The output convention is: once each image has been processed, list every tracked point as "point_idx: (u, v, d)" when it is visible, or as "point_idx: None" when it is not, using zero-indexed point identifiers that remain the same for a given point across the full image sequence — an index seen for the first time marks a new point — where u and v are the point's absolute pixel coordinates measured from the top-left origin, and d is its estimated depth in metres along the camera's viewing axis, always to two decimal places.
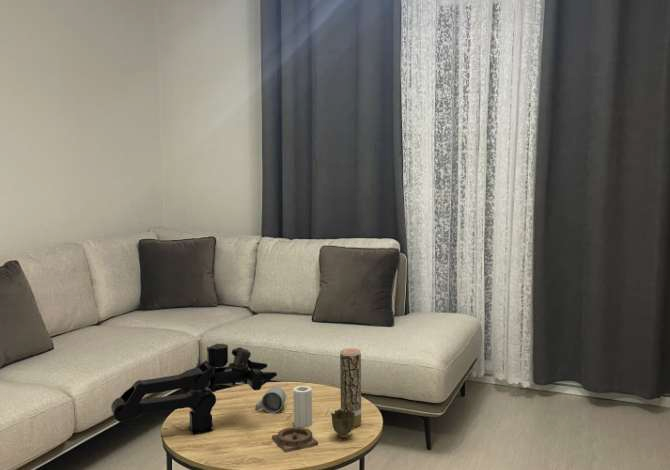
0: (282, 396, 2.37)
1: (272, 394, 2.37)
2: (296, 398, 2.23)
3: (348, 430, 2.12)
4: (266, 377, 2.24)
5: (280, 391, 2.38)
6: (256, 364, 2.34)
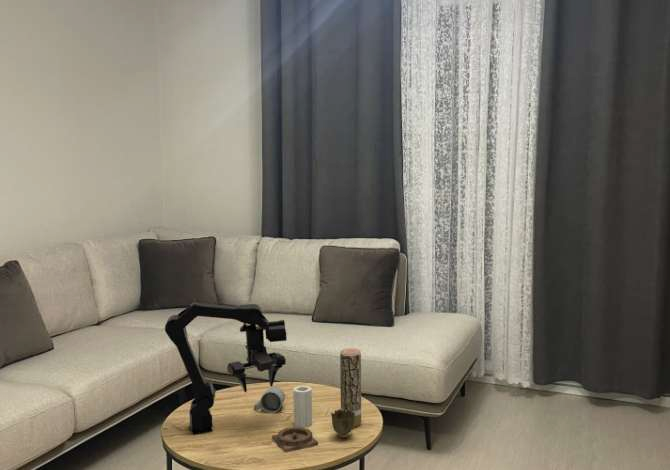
0: (281, 396, 2.37)
1: (271, 394, 2.37)
2: (296, 398, 2.23)
3: (348, 430, 2.12)
4: (240, 380, 2.20)
5: (279, 391, 2.39)
6: (271, 375, 2.25)
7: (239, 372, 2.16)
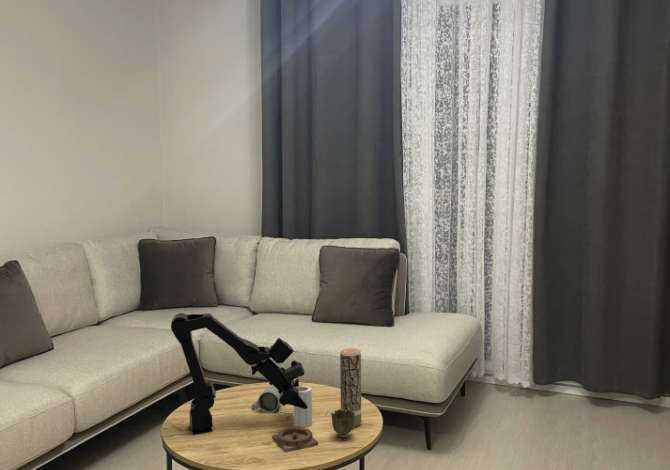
0: (278, 396, 2.37)
1: (268, 394, 2.37)
2: None
3: (348, 430, 2.12)
4: (297, 402, 2.21)
5: (276, 391, 2.39)
6: None
7: (295, 389, 2.17)
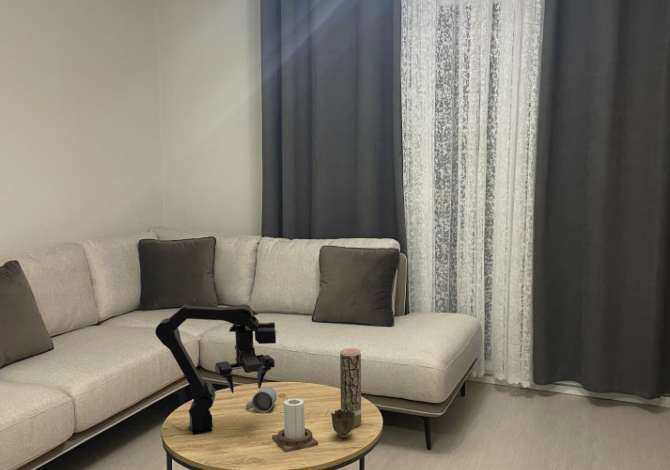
0: (273, 396, 2.37)
1: (263, 394, 2.37)
2: (285, 411, 2.09)
3: (348, 430, 2.12)
4: (228, 381, 2.19)
5: (271, 391, 2.39)
6: (260, 377, 2.23)
7: (226, 372, 2.15)
